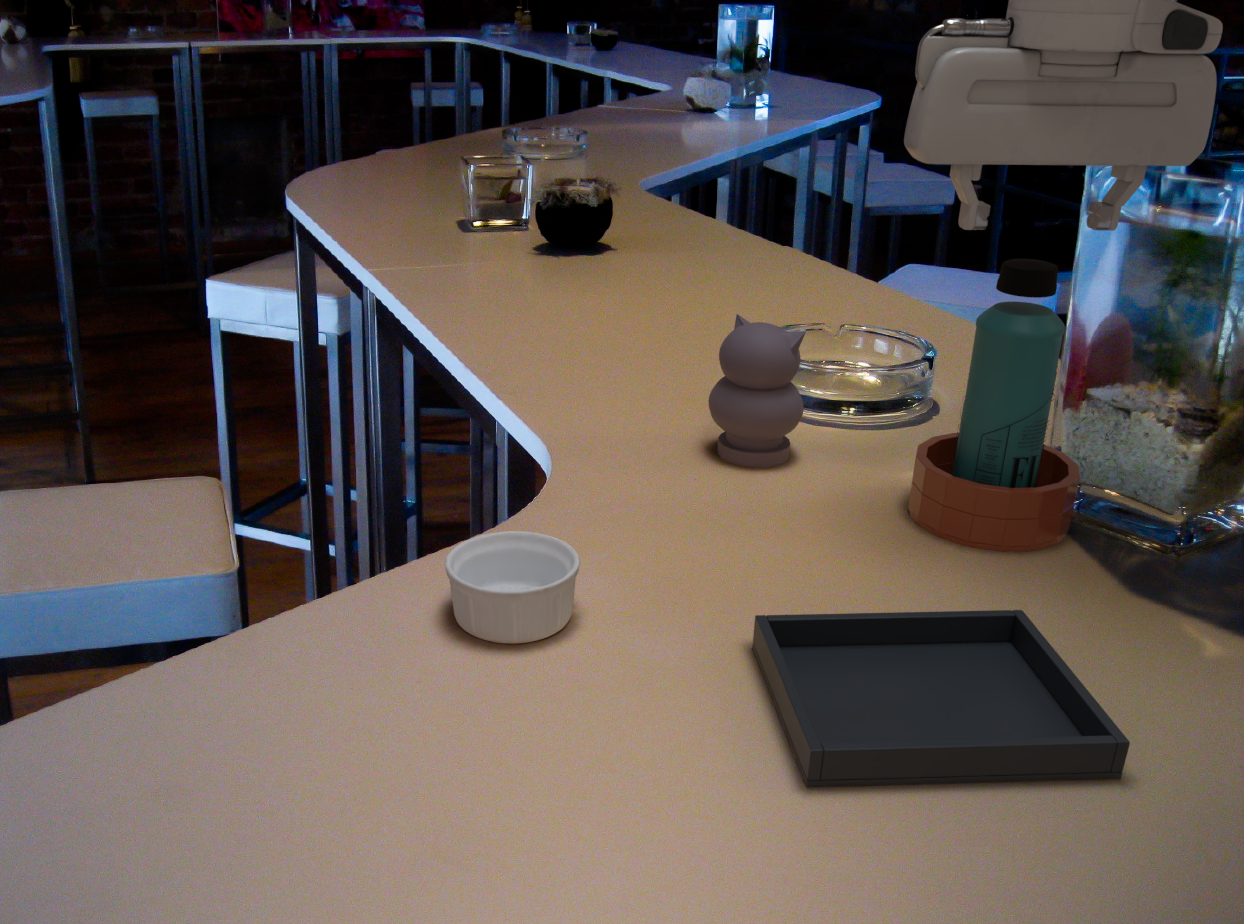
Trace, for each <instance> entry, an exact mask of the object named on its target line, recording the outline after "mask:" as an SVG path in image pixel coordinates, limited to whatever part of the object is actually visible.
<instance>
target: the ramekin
mask: <svg viewBox="0 0 1244 924" xmlns="http://www.w3.org/2000/svg"><path fill="white" fill-rule="evenodd" d="M580 564H581V559H580V556H579V553H578V552H577V550H576V549H575V548H574V547H573V546H571V545H570V543H568V542H566V541H564V540H562V539H560V538H558V537H555V536H552V535H549V534H546V533H545V534H544V533H540V532H535V531H524V530H523V531H521V530H519V531H518V530H510V531H508V530H506V531H498V532H497V531H496V532H490V533H485V534H481V535H477V536H475V537H471V538H469V539H467V540H464V541H462V542H460V543H459V544H457V545H456V546H454V547H453V548H451V550H450V551H449V552H448V554H447V556H446V557H445V561H444V567H445V569H444V570H445V573H446V576H447V578H448V580H449V586H450V594H451V601H452V609H453V614H454V618H455V620H456V622H457V624H458V625H459V627H460V628H462V629H463V630H464V631H465V632H467V634H469V635H472V636H473V637H476V638H478V639H480V640H484V641H487V642H491V643H498V644H512V645H513V644H526V643H532V642H536V641H541V640H543V639H545V638H549V637H551V636H553V635H555V634H556V633H558V632H559V631H561V630H562V629H563V628H564V627H565V626H566V625H567V624H568V623H569V621H570V619H571V617H572V614H573V608H574V601H575V590H576V580H577V576H578V574H579V570H580Z"/></svg>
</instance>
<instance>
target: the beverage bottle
mask: <svg viewBox="0 0 1244 924" xmlns="http://www.w3.org/2000/svg"><path fill="white" fill-rule="evenodd" d="M1058 275H1059V266H1057V264H1055V263H1054V262H1053V263H1052V262H1049V261H1046V260H1040V259H1036V258H1035V259H1034V258H1011V259H1007V260H1005V261H1003V262H1002V264H1001V267H1000V271H999V276H998V278H997V280H996V286H995V289H996V290H997V291H998V292H1000V293H1003V294H1006V295H1010V296H1014V297H1021V298H1035V299H1037V298H1038V299H1039V298H1040V299H1041V298H1049V297H1053V296H1055V295H1056V294H1057V289H1058ZM1065 331H1066V325H1065V323H1064V321H1063V320H1062V319H1061V318H1060V316H1059V315H1058V314H1057V313H1056V312H1055V311H1054V310H1053V309H1052V308H1050V307H1049V306H1045V305H1043V304H1038V303H1035V302H1034V303H1033V302H1026V301H1013V300H1012V301H1000V302H997V303H994V304H993V305H992V306H990V307H988V308H987V309H986V310H984V311H983V312H981V313H980V314H979V315H978V316H977V318H976V322H975V333H974V338H973V345H972V352H971V356H970V357H971V358H970V362H969V363H970V364H969V371H968V377H967V384H966V390H965V395H964V396H963V398H962V400H963V403H962V404H963V405H962V408H960V410H959V419H960V422H959V423H958V426H957V430H956V431H957V432H956V433H959V436H958V435H957V437H958V442H957V448H956V446H955V448H956V457H955V460H954V463H952V466H953V464H954V467H953V468H954V470H953V474H952V475H953V476H955V477H958V478H962V479H965V480H969V481H972V482H976V483H979V484H986V485H993V486H1001V487H1008V488H1035V487H1036V486H1038V484H1036V483H1037V482H1039V479H1038V481H1037V478H1039V477H1040V472H1041V470H1040V472H1039V476H1038V470H1039V465H1040V460H1041V454H1042V451H1043V448H1044V444H1045V442H1046V441H1047V439H1046V438H1047V436H1048V435H1047V434H1048V433H1047V429H1049V425H1050V424H1049V422H1050V420H1049V416H1050V411H1051V406H1052V402H1053V401H1054V400H1055V393H1054V391H1055V390H1056V386H1057V385H1058V383H1056V381H1057V376H1058V369H1059V365H1058V364H1059V360H1060V354H1061V348H1062V342H1063V338H1064V334H1065ZM961 410H962V411H961ZM957 437H956V438H957ZM956 441H957V440H956ZM955 445H956V444H955ZM1043 452H1044V451H1043ZM953 456H955V455H953ZM1043 456H1044V454H1043ZM953 459H954V457H953ZM1042 461H1043V458H1042ZM1041 464H1042V463H1041ZM1041 466H1042V465H1041ZM953 468H952V469H953ZM1040 469H1041V467H1040ZM951 473H952V471H951ZM1036 481H1037V482H1036Z"/></svg>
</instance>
